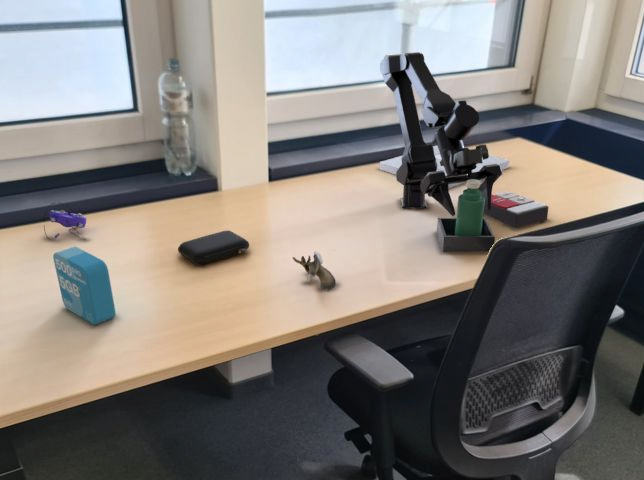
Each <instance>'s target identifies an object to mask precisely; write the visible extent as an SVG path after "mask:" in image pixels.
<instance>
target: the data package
mask: <svg viewBox="0 0 644 480" xmlns="http://www.w3.org/2000/svg"><path fill="white" fill-rule="evenodd" d="M52 259H53V264H54V268H55V272H56V276H57V277H56V278H57V281H58V286H59V291H60V295H61V300H62V303H63V305H64V307H65V308H66V309H67V310H68V311H70V312H72V313H74V315H77V316H78V317H79V318H81V319H83V320H85V321H86V322H88V323H90V324H91V325H94V326H96V325H98V324H100V323H103V322H105V321H109V320H110V319H114V318H115V317H116V313H117V311H116V308H115V301H114V295H113V290H112V289H113V288H112V283H111V278H110V273H109V268H108V265H107V263H106V262H105V261H104V260H103V259H102V258H99V257H97V256H95V255H93V254H91V253H89V252H88V251H85V250H84V249H82V248H80V247H78V246H72V247H69V248H66V249H63V250H59V251H57V252H54V253H53V258H52Z"/></svg>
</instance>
